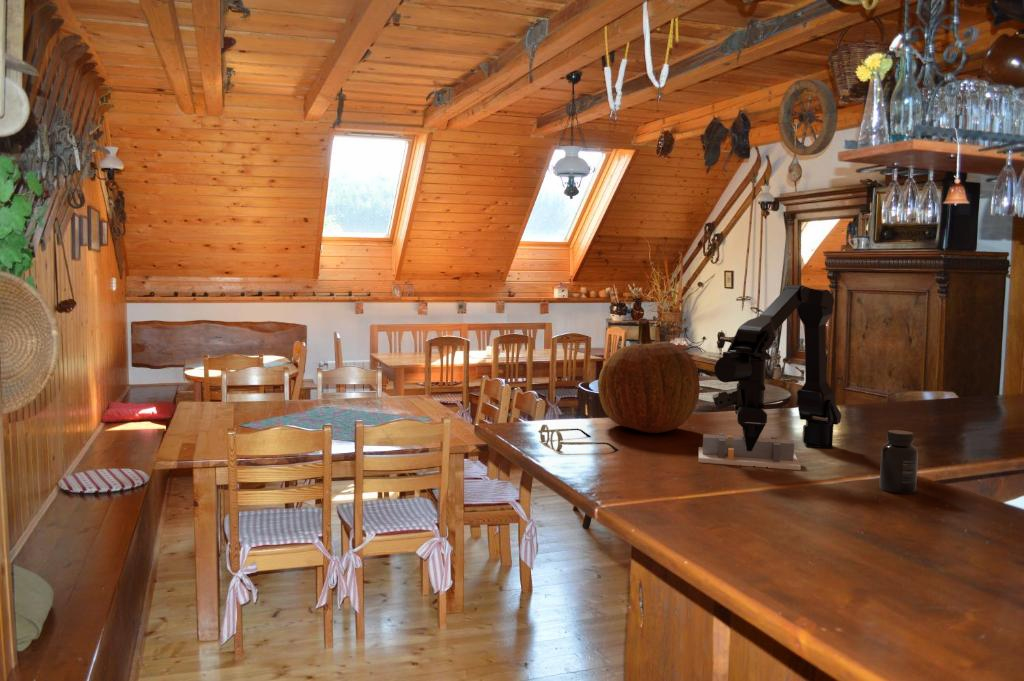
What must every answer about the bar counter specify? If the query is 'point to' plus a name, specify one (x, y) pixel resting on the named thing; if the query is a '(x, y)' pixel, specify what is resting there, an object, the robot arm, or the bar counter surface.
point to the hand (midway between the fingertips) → (748, 446)
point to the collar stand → (749, 461)
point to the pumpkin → (649, 384)
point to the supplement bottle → (899, 463)
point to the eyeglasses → (562, 438)
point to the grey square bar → (760, 450)
